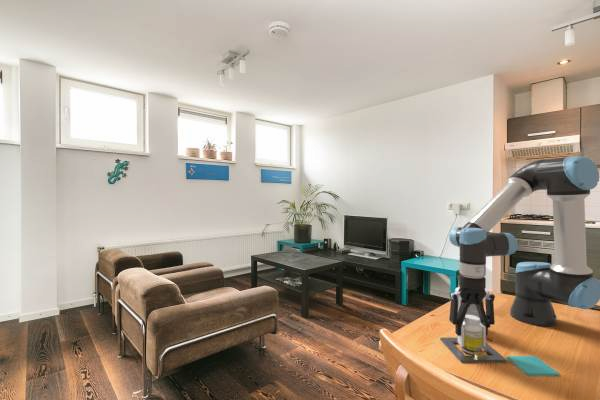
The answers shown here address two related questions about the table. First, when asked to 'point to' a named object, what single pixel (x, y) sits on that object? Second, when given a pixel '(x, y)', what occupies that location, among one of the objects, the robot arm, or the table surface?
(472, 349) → the pill bottle
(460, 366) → the table surface
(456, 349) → the socket plate
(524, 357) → the coaster
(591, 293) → the robot arm
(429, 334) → the table surface
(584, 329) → the table surface
